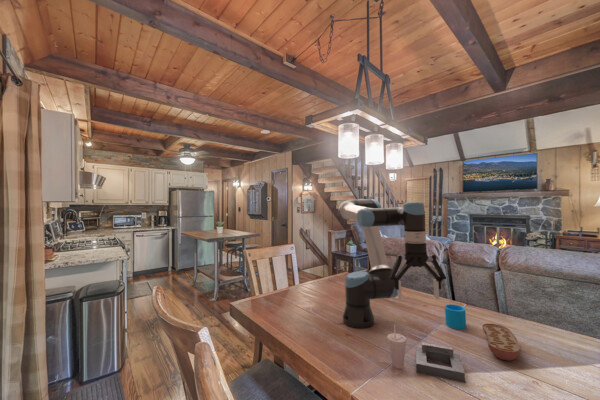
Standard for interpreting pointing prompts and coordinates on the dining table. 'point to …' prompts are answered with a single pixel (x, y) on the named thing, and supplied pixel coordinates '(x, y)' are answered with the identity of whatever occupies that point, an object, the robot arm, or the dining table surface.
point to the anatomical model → (501, 341)
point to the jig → (439, 355)
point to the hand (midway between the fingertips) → (418, 297)
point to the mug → (455, 316)
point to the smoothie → (397, 348)
